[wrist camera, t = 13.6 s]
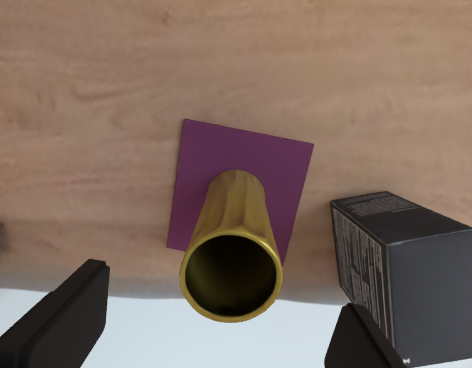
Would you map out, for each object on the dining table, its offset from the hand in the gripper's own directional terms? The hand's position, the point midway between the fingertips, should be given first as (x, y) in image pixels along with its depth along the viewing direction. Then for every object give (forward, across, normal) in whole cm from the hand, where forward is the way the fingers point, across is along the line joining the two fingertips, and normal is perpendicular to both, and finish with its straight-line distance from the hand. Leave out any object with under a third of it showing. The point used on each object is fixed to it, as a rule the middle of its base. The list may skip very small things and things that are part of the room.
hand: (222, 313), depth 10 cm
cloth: (+17, -1, 0) cm, 17 cm away
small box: (+17, -15, +2) cm, 23 cm away
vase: (+17, 0, 0) cm, 17 cm away
